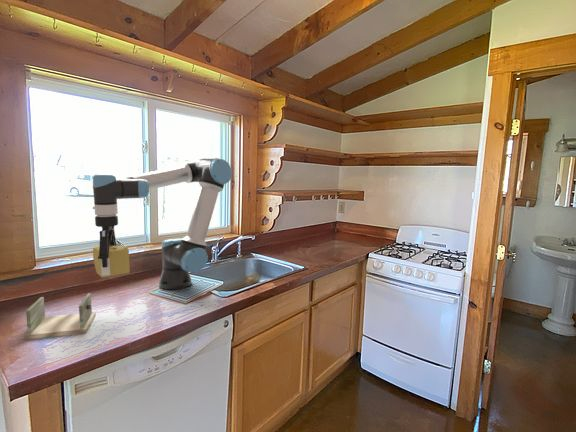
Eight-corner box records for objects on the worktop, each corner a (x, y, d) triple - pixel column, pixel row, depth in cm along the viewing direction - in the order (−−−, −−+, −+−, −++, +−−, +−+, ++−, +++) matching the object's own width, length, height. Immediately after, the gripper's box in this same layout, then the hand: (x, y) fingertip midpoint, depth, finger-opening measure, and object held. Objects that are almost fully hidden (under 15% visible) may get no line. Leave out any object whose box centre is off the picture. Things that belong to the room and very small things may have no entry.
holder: (95, 315, 126) (94, 292, 125) (86, 332, 113) (84, 306, 111) (40, 321, 120) (38, 296, 119) (23, 339, 107) (21, 312, 106)
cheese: (122, 267, 134) (121, 243, 133) (131, 273, 127) (129, 248, 125) (93, 272, 127) (92, 246, 126) (101, 279, 120) (99, 252, 118)
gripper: (102, 211, 134) (105, 261, 137) (86, 220, 110) (90, 281, 113) (122, 210, 136) (125, 260, 139) (111, 220, 113) (114, 279, 116)
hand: (109, 269), depth 126 cm, fingers closed on cheese, 13 cm apart
